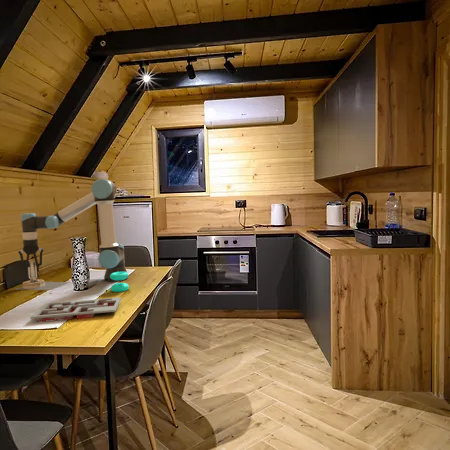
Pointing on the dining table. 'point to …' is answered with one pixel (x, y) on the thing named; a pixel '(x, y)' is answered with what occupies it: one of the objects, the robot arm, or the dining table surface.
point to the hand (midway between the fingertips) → (33, 277)
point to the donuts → (119, 286)
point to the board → (47, 286)
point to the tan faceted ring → (33, 284)
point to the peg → (32, 272)
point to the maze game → (76, 309)
